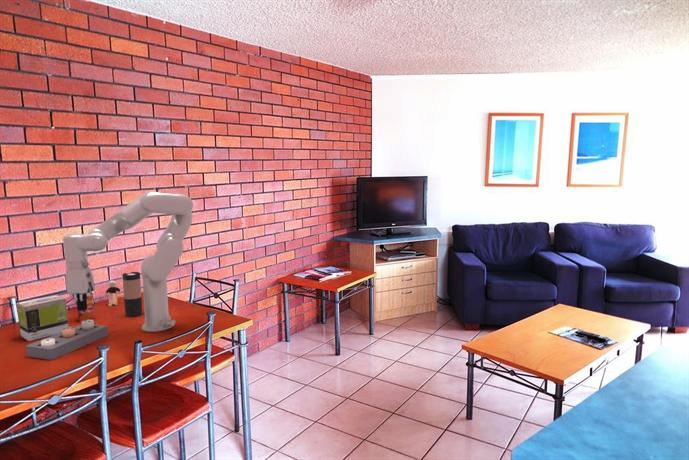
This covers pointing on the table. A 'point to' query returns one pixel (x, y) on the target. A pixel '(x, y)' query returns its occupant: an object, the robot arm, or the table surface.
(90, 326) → the sage button
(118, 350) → the table surface
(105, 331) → the button panel
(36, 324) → the tea box
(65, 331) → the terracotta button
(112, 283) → the grandmother figurine
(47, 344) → the white round knob
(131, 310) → the travel mug
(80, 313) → the paper cup
